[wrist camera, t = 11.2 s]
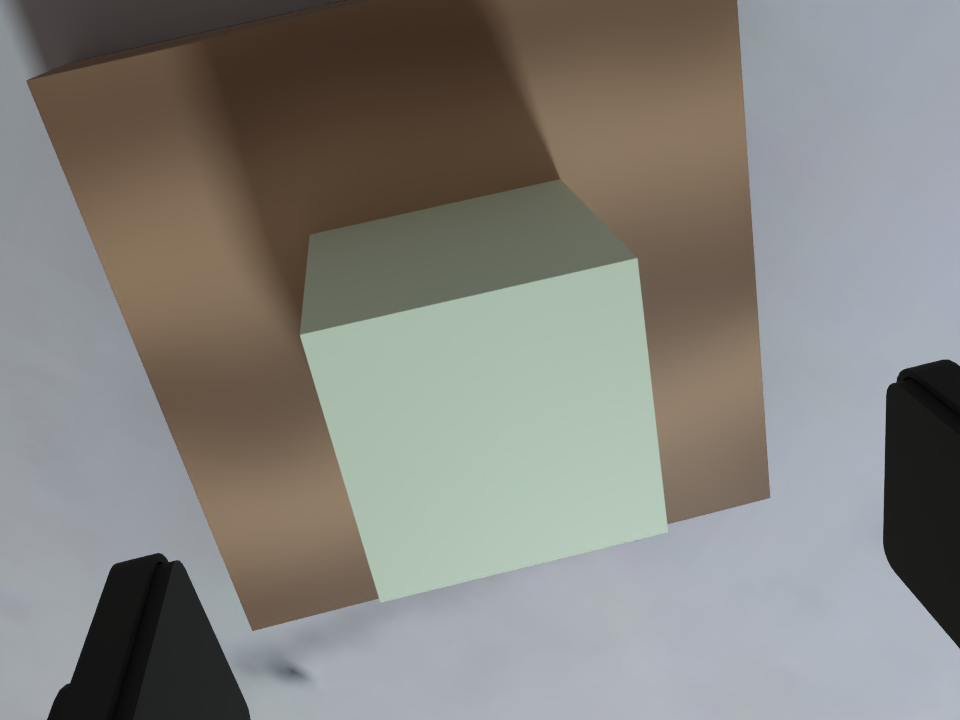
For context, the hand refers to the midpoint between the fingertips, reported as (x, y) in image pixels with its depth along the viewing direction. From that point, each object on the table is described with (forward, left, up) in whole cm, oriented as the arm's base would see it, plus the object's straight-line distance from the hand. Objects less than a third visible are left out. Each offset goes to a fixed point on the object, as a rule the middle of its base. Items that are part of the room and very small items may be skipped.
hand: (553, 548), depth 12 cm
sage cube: (+1, 0, -9) cm, 9 cm away
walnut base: (+1, 0, -12) cm, 12 cm away
